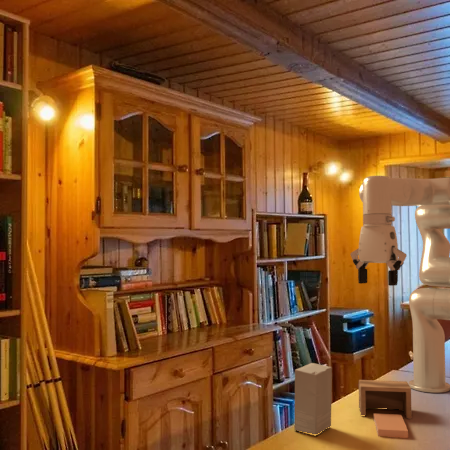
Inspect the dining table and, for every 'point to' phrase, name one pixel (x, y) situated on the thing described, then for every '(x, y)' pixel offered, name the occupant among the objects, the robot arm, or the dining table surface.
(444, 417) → the dining table surface
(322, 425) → the skincare box
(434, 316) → the robot arm
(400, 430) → the terracotta tile
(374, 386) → the tan open box
